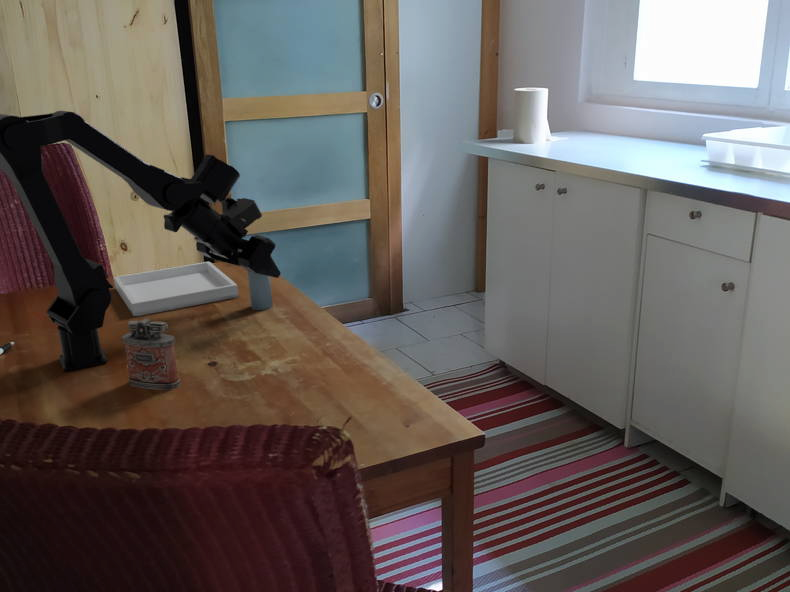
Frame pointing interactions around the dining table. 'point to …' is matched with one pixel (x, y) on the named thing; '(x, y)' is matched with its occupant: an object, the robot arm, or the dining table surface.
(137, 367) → the lighter
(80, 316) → the robot arm
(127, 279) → the tray
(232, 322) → the dining table surface
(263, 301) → the dowel
